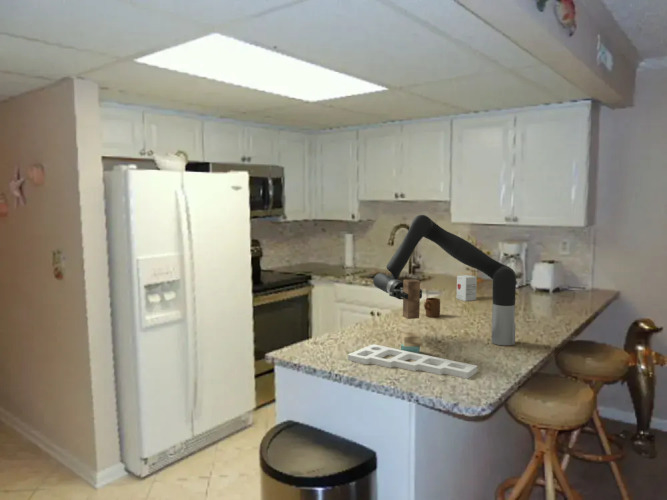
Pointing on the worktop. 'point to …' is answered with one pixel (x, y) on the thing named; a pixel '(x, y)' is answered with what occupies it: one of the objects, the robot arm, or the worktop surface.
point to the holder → (422, 362)
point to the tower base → (411, 349)
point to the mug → (432, 307)
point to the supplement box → (466, 287)
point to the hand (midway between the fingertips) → (414, 296)
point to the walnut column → (411, 299)
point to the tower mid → (411, 339)
